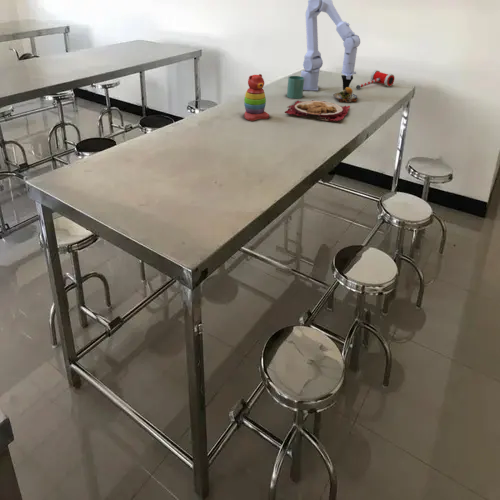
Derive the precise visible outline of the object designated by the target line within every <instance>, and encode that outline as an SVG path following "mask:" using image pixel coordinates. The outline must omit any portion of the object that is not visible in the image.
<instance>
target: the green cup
mask: <svg viewBox="0 0 500 500" xmlns="http://www.w3.org/2000/svg"><path fill="white" fill-rule="evenodd" d="M303 87H304V77H301V75H289V76H288V78H287V90H286V97H287V98H289V99H297V100H298V99H302V98H303V96H304V90H303Z"/></svg>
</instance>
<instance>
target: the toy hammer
mask: <svg viewBox="0 0 500 500" xmlns="http://www.w3.org/2000/svg"><path fill="white" fill-rule="evenodd" d="M394 82H395V75H394V74H392V73H385V72H382V71H380V70H378V69H374V70H373V71H372V72H371V75H370V81H367V82H365V83H361V84H357V85H356V86H355V89H356V90H359V89H361V88H363V87H366V86H369V85H371V84H374V83H378V84H382V85H384V86H385V87H388V88H389V87H392V86H393V84H394Z"/></svg>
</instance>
